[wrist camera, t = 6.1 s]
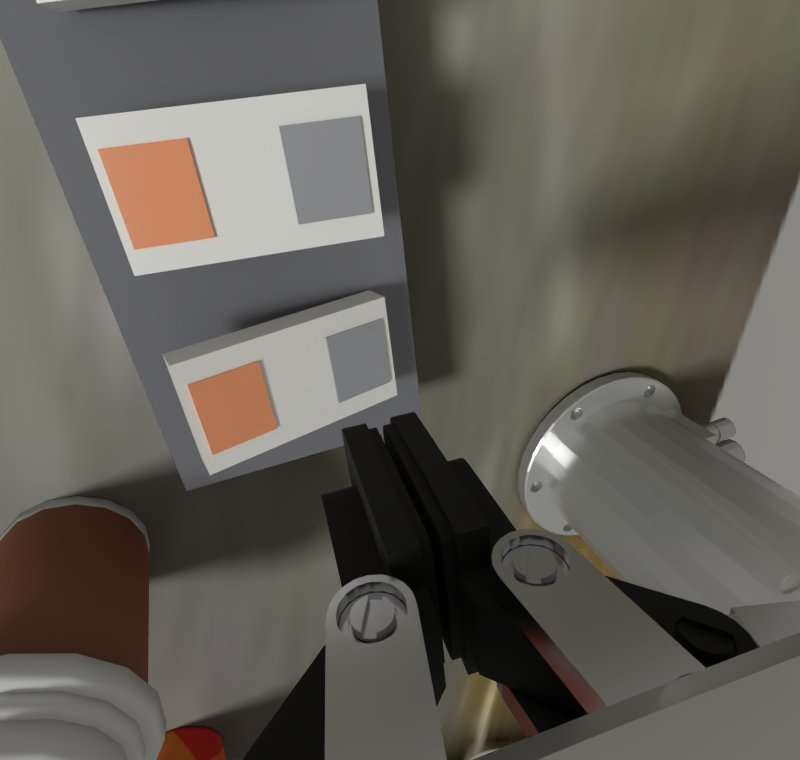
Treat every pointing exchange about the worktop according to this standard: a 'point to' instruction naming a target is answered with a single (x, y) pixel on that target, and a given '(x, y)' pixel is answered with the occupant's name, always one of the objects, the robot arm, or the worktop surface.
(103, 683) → the coffee cup
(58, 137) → the rocker switch panel
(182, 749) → the paper cup
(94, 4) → the rocker near
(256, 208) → the rocker middle
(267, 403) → the plate
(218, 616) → the worktop surface
